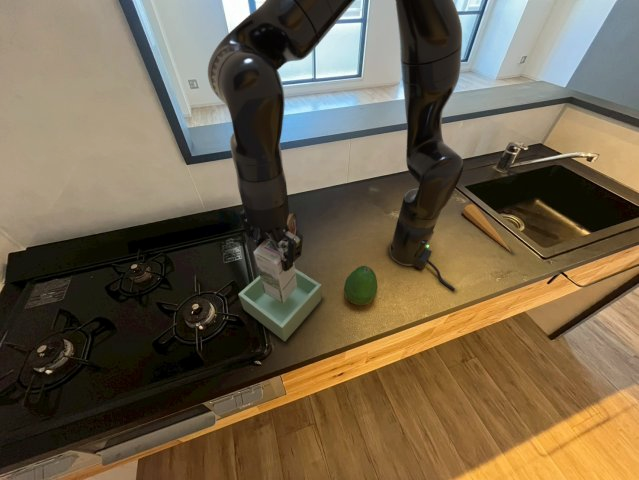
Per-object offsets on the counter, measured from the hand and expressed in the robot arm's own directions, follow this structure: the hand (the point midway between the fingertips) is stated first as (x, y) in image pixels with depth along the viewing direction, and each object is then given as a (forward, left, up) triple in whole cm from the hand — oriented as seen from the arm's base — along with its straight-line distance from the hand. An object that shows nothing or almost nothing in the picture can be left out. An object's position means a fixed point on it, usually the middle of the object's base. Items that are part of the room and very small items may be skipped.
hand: (275, 260), depth 57 cm
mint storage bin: (0, 0, -17) cm, 17 cm away
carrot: (-33, -58, -17) cm, 69 cm away
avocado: (-14, -13, -17) cm, 26 cm away
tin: (+13, -16, -17) cm, 27 cm away
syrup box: (0, 0, -11) cm, 11 cm away
